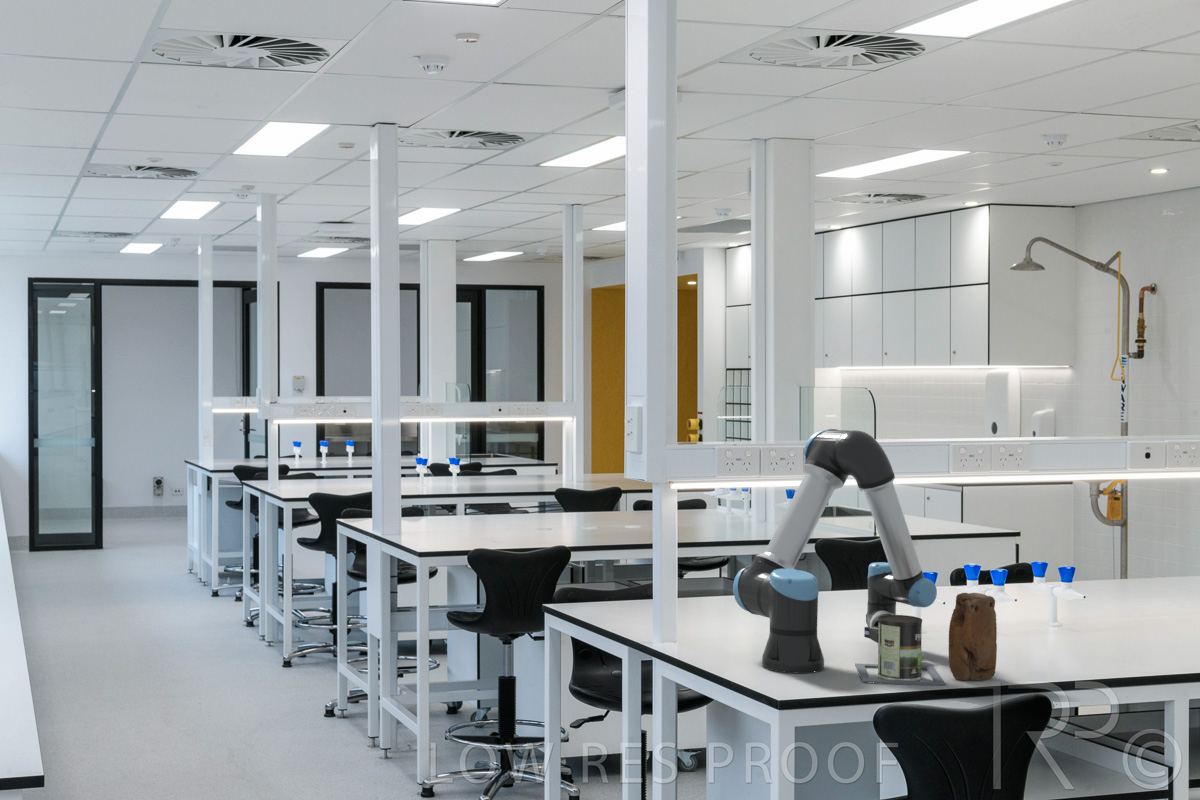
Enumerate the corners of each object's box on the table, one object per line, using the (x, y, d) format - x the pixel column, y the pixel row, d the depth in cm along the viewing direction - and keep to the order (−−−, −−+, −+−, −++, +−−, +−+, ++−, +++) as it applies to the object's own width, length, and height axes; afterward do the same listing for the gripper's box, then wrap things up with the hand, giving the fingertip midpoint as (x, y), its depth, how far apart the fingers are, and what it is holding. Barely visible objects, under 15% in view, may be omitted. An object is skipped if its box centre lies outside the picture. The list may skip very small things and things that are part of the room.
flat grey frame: (862, 682, 283) (862, 680, 283) (855, 665, 302) (855, 663, 302) (946, 686, 281) (946, 683, 281) (933, 668, 300) (933, 666, 300)
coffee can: (922, 674, 293) (923, 616, 293) (920, 683, 283) (921, 623, 283) (879, 670, 296) (879, 613, 296) (875, 680, 286) (876, 620, 286)
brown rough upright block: (975, 672, 295) (976, 590, 295) (999, 679, 289) (1000, 595, 289) (943, 677, 290) (944, 593, 290) (967, 683, 283) (968, 598, 283)
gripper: (911, 642, 318) (924, 661, 294) (860, 641, 319) (870, 659, 296) (911, 614, 318) (925, 631, 294) (860, 612, 319) (870, 629, 296)
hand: (897, 645), depth 295 cm, fingers closed
